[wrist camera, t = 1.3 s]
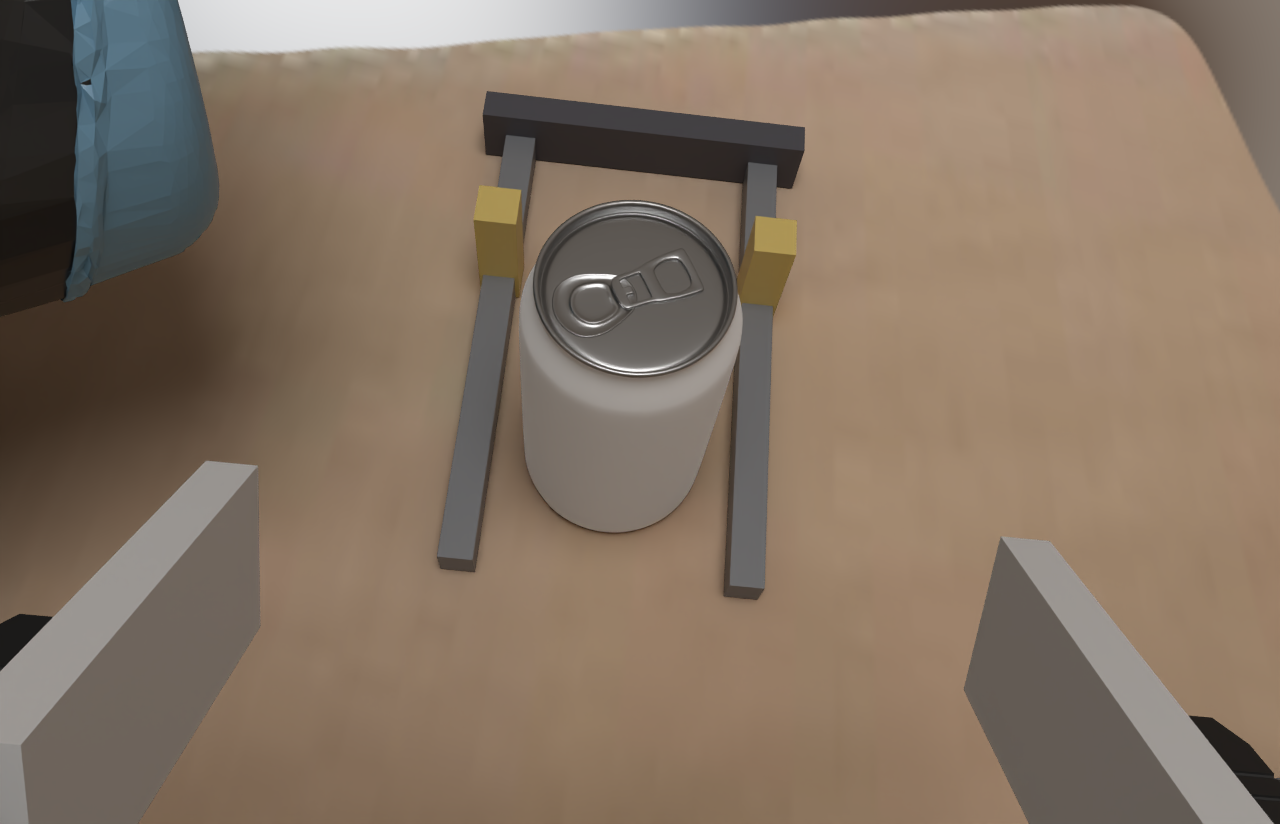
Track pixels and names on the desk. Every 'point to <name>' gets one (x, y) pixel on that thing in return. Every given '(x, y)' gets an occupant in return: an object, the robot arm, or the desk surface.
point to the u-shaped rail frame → (500, 225)
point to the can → (625, 361)
